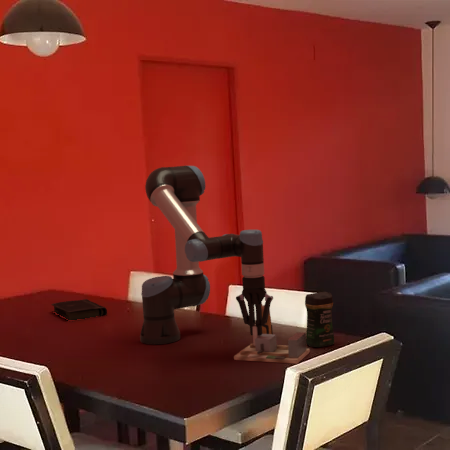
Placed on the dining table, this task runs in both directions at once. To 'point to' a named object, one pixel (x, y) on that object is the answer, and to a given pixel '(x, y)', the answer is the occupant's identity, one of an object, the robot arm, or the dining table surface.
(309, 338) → the coffee jar
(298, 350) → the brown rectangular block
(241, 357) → the board
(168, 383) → the dining table surface
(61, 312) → the diary
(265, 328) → the ammunition clip
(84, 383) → the dining table surface
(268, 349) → the grey rectangular block
